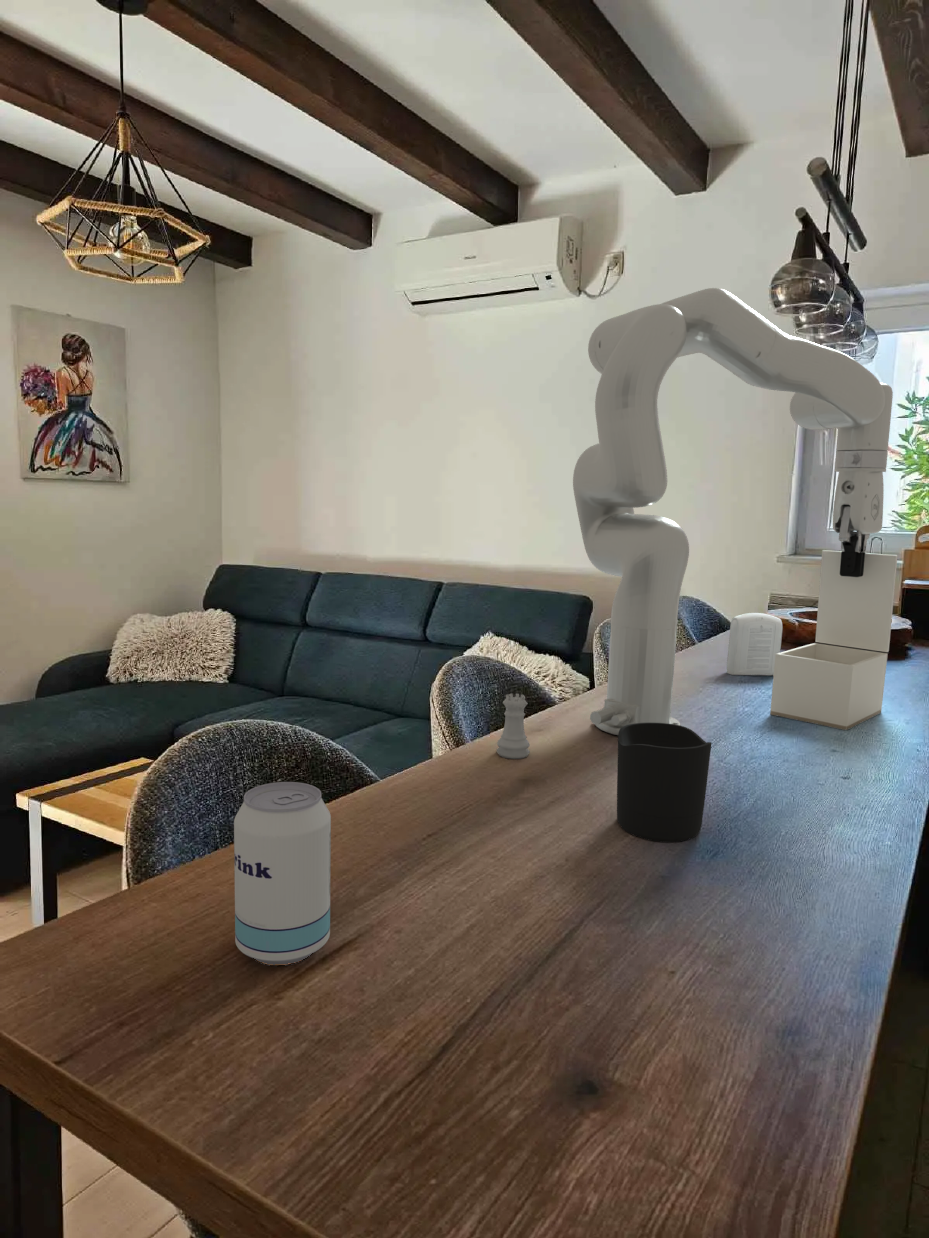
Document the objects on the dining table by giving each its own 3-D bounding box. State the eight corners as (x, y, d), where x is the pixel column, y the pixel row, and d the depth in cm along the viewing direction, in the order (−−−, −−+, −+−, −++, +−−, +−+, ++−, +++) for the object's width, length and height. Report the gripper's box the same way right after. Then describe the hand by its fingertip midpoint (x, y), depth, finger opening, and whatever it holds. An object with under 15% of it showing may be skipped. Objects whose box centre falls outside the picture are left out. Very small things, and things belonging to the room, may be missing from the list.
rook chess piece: (490, 756, 110) (492, 696, 109) (504, 747, 114) (507, 690, 113) (521, 762, 108) (524, 701, 107) (535, 753, 112) (537, 694, 111)
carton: (846, 730, 128) (853, 666, 126) (770, 714, 136) (775, 653, 134) (881, 712, 139) (887, 653, 138) (808, 698, 147) (814, 643, 146)
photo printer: (770, 672, 170) (776, 611, 168) (781, 676, 165) (787, 615, 164) (722, 672, 168) (727, 611, 166) (732, 676, 164) (737, 614, 162)
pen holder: (714, 822, 90) (721, 732, 88) (690, 853, 82) (697, 754, 80) (630, 803, 95) (636, 717, 93) (599, 831, 87) (605, 737, 85)
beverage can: (218, 945, 63) (216, 792, 61) (296, 915, 68) (296, 772, 66) (267, 986, 58) (266, 821, 56) (348, 950, 63) (349, 797, 61)
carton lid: (896, 555, 135) (897, 555, 135) (822, 550, 143) (823, 550, 143) (887, 652, 138) (888, 651, 138) (815, 641, 146) (816, 641, 146)
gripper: (869, 461, 127) (858, 581, 130) (900, 463, 138) (890, 574, 140) (819, 461, 132) (810, 577, 135) (853, 464, 143) (844, 571, 146)
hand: (851, 576), depth 138 cm, fingers closed
